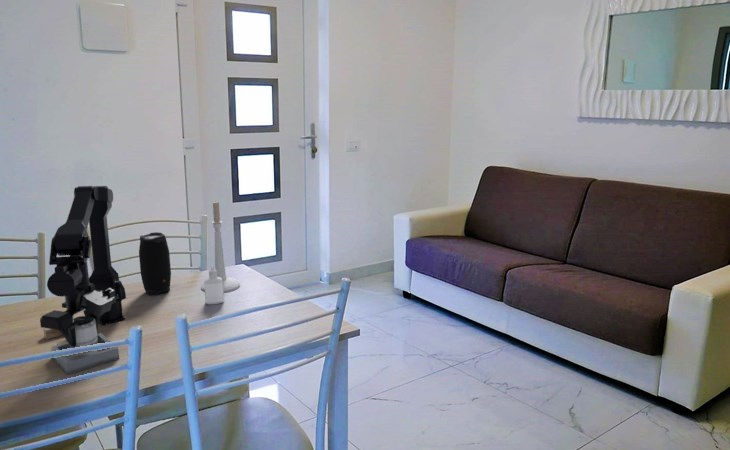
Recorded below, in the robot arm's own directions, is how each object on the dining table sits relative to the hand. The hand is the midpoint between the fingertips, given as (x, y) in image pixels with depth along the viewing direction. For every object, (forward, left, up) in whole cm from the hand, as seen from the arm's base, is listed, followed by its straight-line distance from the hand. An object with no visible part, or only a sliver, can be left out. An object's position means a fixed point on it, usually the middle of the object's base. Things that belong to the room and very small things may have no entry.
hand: (83, 340), depth 139 cm
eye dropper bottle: (-42, -12, -5) cm, 44 cm away
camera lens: (0, 0, -2) cm, 2 cm away
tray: (0, 0, -5) cm, 5 cm away
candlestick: (-51, -24, -5) cm, 57 cm away
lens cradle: (+1, -14, -5) cm, 15 cm away
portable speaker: (-33, -34, -5) cm, 48 cm away
